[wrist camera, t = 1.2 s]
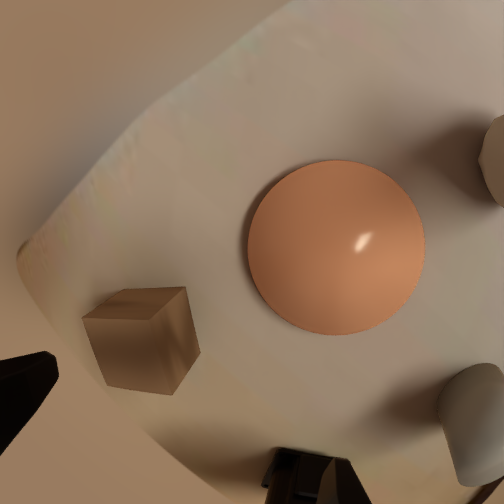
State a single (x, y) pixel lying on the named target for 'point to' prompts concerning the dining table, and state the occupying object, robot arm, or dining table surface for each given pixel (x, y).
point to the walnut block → (144, 339)
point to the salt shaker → (494, 159)
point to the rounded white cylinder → (475, 423)
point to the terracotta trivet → (336, 247)
